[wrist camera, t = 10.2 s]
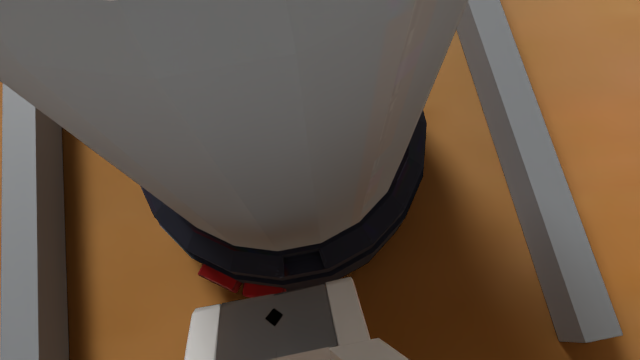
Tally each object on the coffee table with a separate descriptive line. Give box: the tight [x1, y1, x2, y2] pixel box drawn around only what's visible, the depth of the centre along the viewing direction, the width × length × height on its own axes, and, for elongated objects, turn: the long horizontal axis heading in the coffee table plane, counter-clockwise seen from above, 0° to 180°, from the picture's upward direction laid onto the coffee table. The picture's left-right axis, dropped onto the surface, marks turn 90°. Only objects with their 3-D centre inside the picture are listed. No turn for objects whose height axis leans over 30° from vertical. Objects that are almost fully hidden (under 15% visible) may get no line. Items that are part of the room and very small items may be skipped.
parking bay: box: [0, 0, 623, 360], centre depth 15 cm, size 16×15×2 cm
